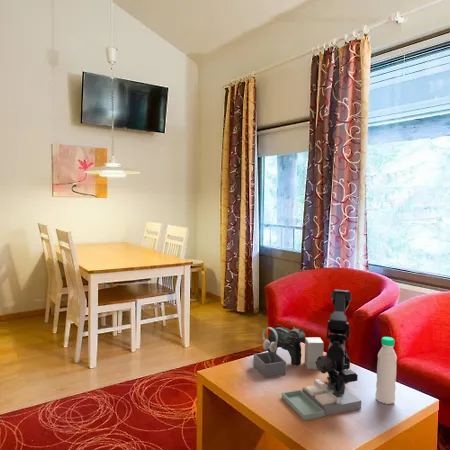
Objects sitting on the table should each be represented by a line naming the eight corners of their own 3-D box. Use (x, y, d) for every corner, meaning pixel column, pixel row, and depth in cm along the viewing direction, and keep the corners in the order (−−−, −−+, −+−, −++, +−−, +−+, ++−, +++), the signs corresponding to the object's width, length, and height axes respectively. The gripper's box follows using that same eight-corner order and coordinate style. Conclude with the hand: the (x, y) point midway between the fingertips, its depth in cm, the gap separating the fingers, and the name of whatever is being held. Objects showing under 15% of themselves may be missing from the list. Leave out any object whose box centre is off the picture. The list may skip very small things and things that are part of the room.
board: (335, 388, 167) (336, 381, 167) (361, 408, 152) (361, 400, 152) (302, 394, 162) (302, 387, 162) (324, 415, 147) (325, 407, 147)
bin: (300, 394, 162) (300, 389, 162) (324, 416, 146) (324, 411, 146) (281, 397, 159) (281, 392, 159) (304, 420, 143) (304, 415, 143)
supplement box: (323, 369, 185) (324, 343, 184) (307, 369, 185) (307, 342, 184) (319, 363, 192) (320, 337, 191) (304, 362, 193) (304, 336, 192)
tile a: (316, 387, 162) (316, 384, 161) (323, 393, 157) (323, 390, 157) (305, 389, 160) (305, 386, 160) (312, 395, 155) (312, 392, 155)
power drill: (305, 365, 190) (306, 323, 188) (297, 369, 185) (298, 326, 184) (272, 352, 204) (273, 314, 203) (264, 356, 200) (265, 316, 198)
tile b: (326, 396, 155) (326, 393, 155) (334, 402, 150) (334, 399, 150) (315, 398, 153) (315, 395, 153) (322, 404, 148) (322, 401, 148)
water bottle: (393, 406, 154) (396, 343, 152) (373, 401, 157) (376, 339, 155) (396, 398, 160) (399, 337, 158) (377, 393, 163) (380, 333, 161)
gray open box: (273, 363, 191) (273, 351, 190) (285, 374, 179) (285, 361, 179) (253, 366, 187) (253, 354, 187) (264, 378, 176) (265, 364, 175)
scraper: (331, 383, 166) (331, 373, 165) (354, 400, 151) (355, 390, 151) (314, 385, 163) (314, 376, 162) (336, 404, 149) (337, 393, 148)
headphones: (259, 369, 185) (260, 326, 183) (264, 366, 188) (265, 324, 186) (273, 374, 179) (274, 331, 177) (279, 372, 182) (280, 329, 180)
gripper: (306, 344, 162) (305, 381, 163) (333, 363, 145) (332, 404, 146) (329, 341, 166) (328, 377, 167) (359, 359, 148) (357, 399, 150)
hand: (335, 389), depth 157 cm, fingers closed on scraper, 2 cm apart
